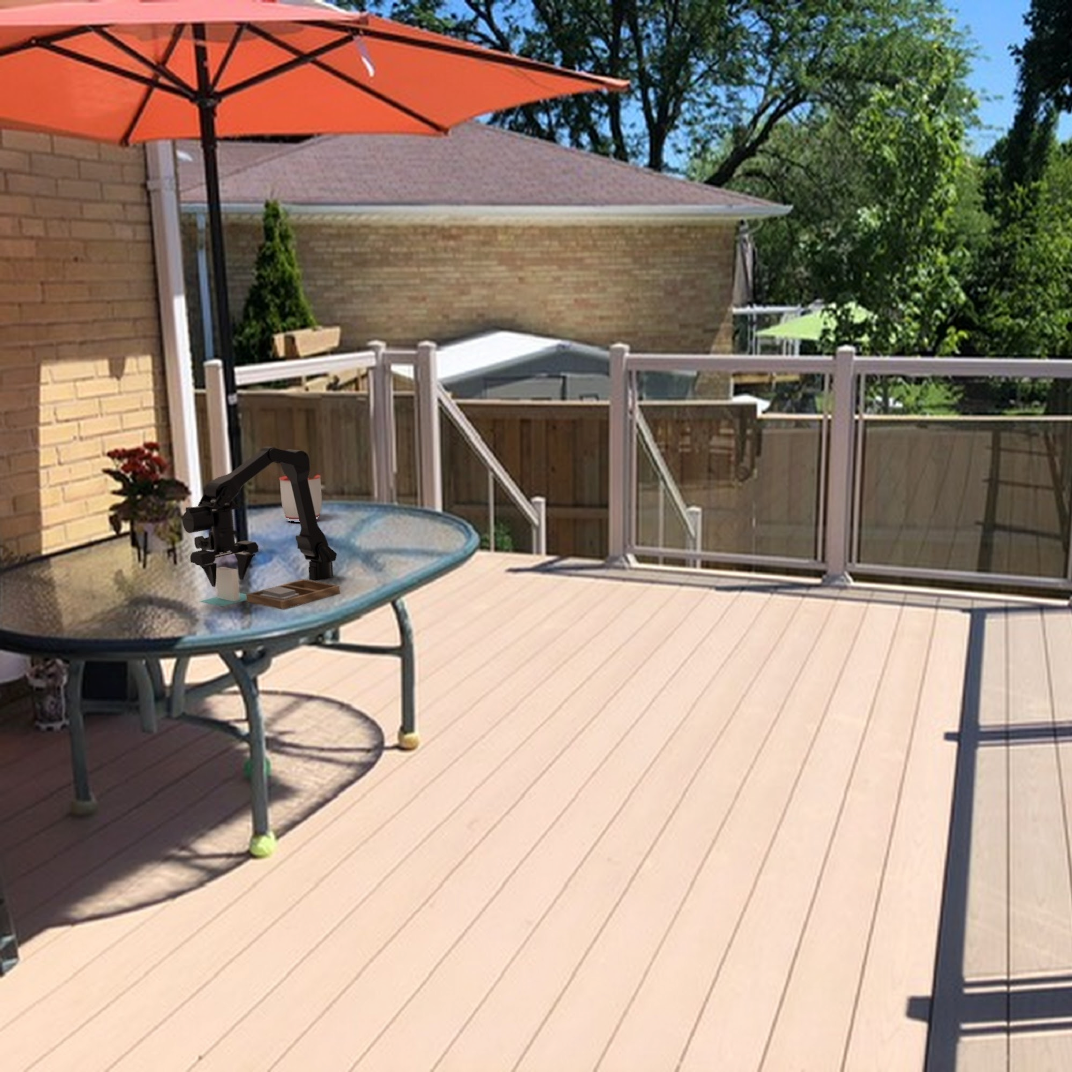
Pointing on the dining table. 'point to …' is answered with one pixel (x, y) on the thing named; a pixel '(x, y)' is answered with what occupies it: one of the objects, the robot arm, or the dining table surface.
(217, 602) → the mat
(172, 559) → the dining table surface
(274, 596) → the offcut stack
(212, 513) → the robot arm
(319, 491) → the citrus juicer
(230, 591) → the beige rectangular block
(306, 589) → the wooden divided tray
